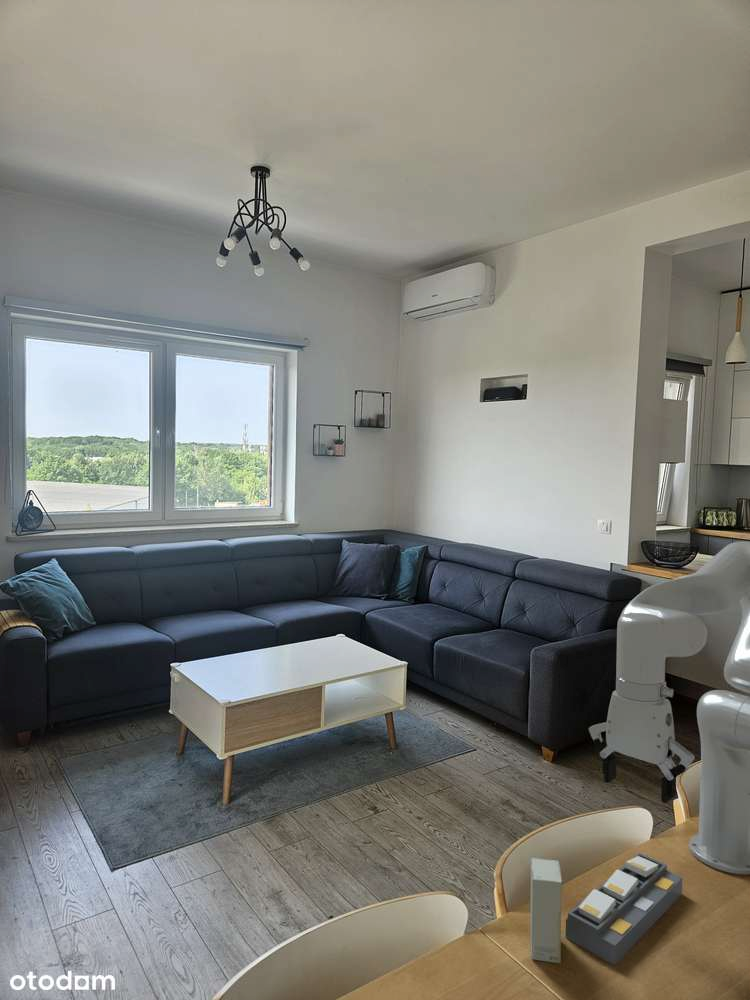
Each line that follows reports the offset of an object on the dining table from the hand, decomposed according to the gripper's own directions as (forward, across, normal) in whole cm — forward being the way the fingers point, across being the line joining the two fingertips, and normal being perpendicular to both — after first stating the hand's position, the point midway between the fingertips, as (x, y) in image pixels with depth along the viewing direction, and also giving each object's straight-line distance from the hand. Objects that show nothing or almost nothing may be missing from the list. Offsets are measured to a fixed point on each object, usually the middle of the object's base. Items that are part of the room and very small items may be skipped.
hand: (637, 789), depth 109 cm
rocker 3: (+16, +1, -5) cm, 16 cm away
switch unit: (+20, 0, +3) cm, 20 cm away
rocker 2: (+16, +1, +3) cm, 16 cm away
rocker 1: (+15, +1, +11) cm, 19 cm away
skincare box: (+20, +5, +20) cm, 29 cm away
